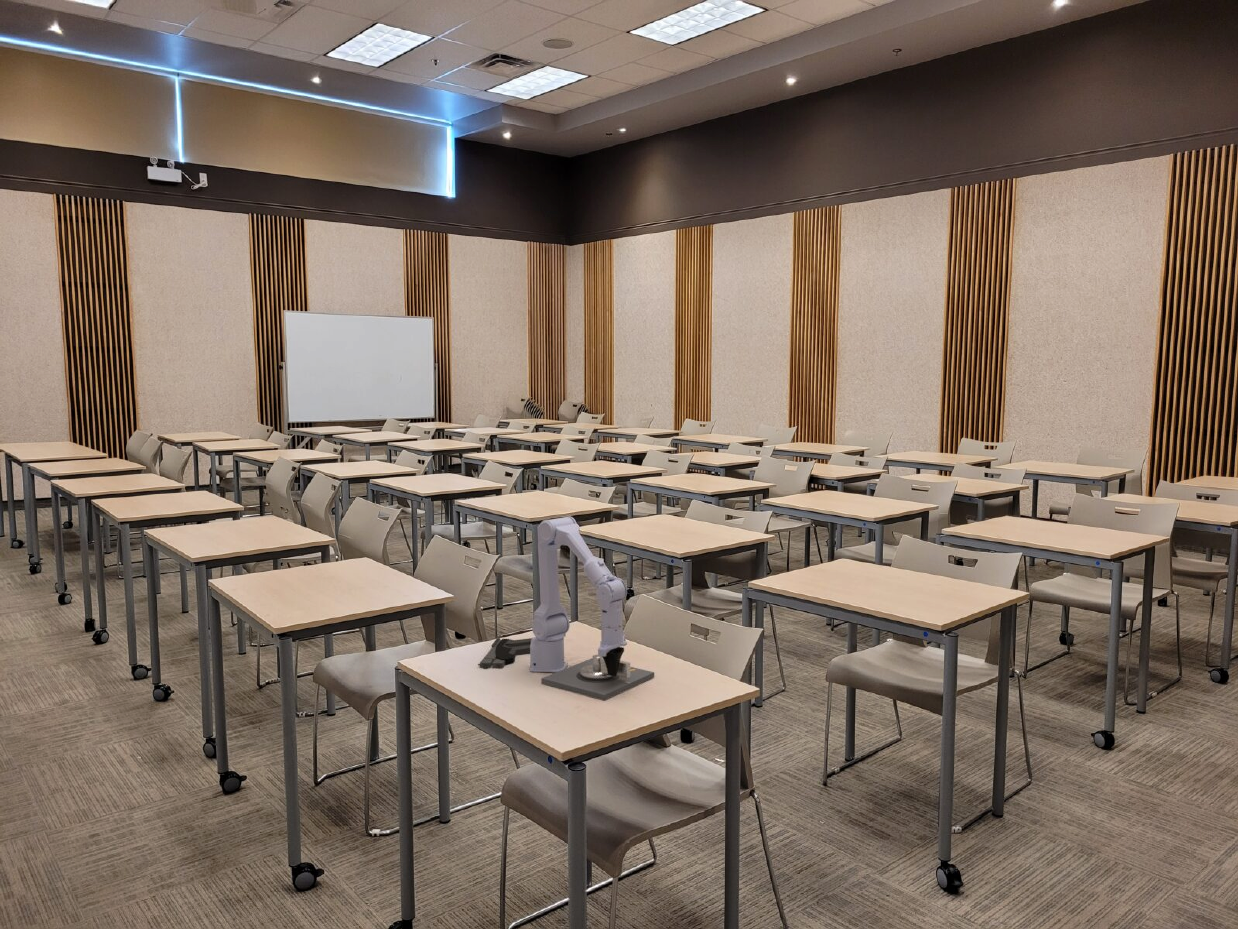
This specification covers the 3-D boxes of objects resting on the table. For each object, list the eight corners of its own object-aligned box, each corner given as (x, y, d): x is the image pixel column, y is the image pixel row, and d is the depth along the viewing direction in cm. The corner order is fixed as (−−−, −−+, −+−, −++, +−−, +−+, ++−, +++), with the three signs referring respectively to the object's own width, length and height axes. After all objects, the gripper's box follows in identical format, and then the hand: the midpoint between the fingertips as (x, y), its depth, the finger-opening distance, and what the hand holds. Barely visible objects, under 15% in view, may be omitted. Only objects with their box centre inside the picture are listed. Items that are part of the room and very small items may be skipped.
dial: (572, 675, 240) (572, 657, 239) (595, 665, 248) (595, 648, 247) (617, 686, 230) (617, 668, 230) (639, 676, 238) (639, 658, 238)
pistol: (544, 638, 276) (497, 637, 278) (527, 663, 251) (476, 662, 252) (544, 645, 276) (497, 644, 278) (528, 671, 251) (476, 670, 252)
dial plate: (541, 683, 239) (541, 677, 239) (592, 662, 256) (592, 657, 256) (604, 700, 226) (604, 694, 225) (654, 677, 243) (654, 672, 243)
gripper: (615, 633, 225) (616, 685, 226) (635, 619, 238) (636, 668, 240) (590, 631, 228) (591, 682, 229) (611, 617, 241) (612, 665, 242)
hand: (612, 675), depth 234 cm, fingers closed, pressing on dial
